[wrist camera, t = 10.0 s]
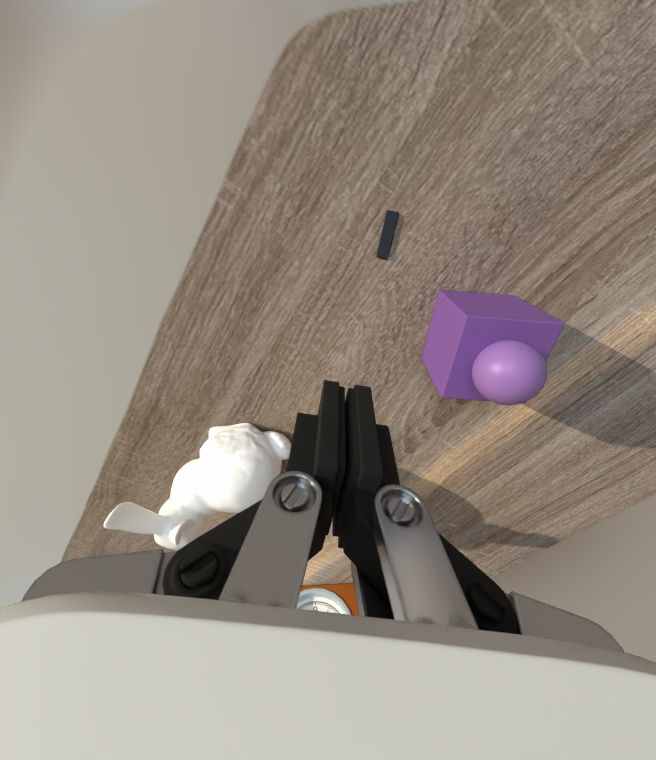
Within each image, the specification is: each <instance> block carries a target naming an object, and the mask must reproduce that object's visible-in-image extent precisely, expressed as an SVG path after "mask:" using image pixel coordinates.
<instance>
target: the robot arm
mask: <svg viewBox="0 0 656 760" xmlns="http://www.w3.org/2000/svg"><path fill="white" fill-rule="evenodd" d="M332 518H333V536H338V548H344V553H345V554H346V555H347V557H348V558H349V559H350V560H351V561H352V562H351V571H352V577H353V584H354V590H355V596H356V602H357V608H358V614H359V616H357V615H348V614H339V613H330V612H322V611H313V610H304V609H297V604H298V600H299V596H300V592H301V588H302V583H303V579H304V575H305V571H306V567H307V562H308V561H309V560H310V559H311V558H312V557H313V556H315V555H316V554H317V553H318V552H319V551H321V550H322V547H323V543H324V540H325V536H326V535H328V533H329V529H330V526H331V522H332ZM0 760H656V663H655V662H652V661H649V660H647V659H644V658H642V657H639V656H635V655H632V654H628V653H625V652H624V650H623V649H622V647H621V646H620V645H619V644H618V642H617V641H616V640H615V639H614V638H613V637H612V635H611V634H609V633H608V632H607V631H606V630H605V629H603V628H602V627H601V626H600V625H598V624H596V623H594V622H593V621H591V620H589V619H586V618H583V617H581V616H578V615H575V614H573V613H570V612H567V611H564V610H562V609H559V608H556V607H554V606H551V605H548V604H545V603H542V602H540V601H537V600H534V599H532V598H529V597H526V596H523V595H521V594H518V593H515V592H513V591H512V592H511V593H510V594H506V593H504V591H503V590H502V589H501V588H500V587H499V586H498V585H497V584H496V583H495V582H494V581H493V580H492V579H491V578H489V577H488V576H487V575H486V574H485V573H484V572H482V571H481V570H480V569H479V568H478V567H477V566H476V565H474V564H473V563H472V562H471V561H470V560H469V559H468V558H466V557H465V556H464V555H463V554H462V553H461V552H460V551H458V550H457V549H456V548H455V547H454V546H453V545H452V544H450V543H449V542H448V541H447V540H446V539H445V538H443V537H442V536H441V535H440V534H439V533H438V532H437V530H436V527H435V525H434V523H433V520H432V518H431V515H430V513H429V511H428V508H427V506H426V505H425V503H424V501H423V500H422V499H421V497H420V496H419V495H418V494H417V493H415V492H414V491H412V490H411V489H409V488H407V487H404V486H402V485H400V482H399V477H398V472H397V467H396V462H395V457H394V452H393V447H392V442H391V437H390V432H389V428H388V426H385V425H378V424H376V421H375V414H374V407H373V400H372V393H371V388H370V387H366V386H360V385H355V386H354V389H353V388H349V389H348V392H347V396H346V401H345V388H344V387H340V386H339V382H333V381H327V380H324V383H323V389H322V394H321V400H320V406H319V411H318V416H317V415H310V414H303V413H298V414H297V419H296V424H295V429H294V434H293V439H292V445H291V450H290V455H289V460H288V465H287V470H286V472H284V473H282V474H279V475H278V476H276V477H275V478H274V479H273V480H272V481H271V483H270V484H269V486H268V488H267V490H266V492H265V495H264V497H263V499H262V500H260V501H258V502H257V503H255V504H253V505H252V506H250V507H248V508H247V509H245V510H243V511H241V512H240V513H238V514H236V515H235V516H233V517H231V518H230V519H228V520H226V521H225V522H223V523H221V524H220V525H218V526H216V527H215V528H213V529H211V530H210V531H208V532H206V533H205V534H203V535H201V536H200V537H198V538H196V539H195V540H193V541H191V542H190V543H188V544H186V545H185V546H184V547H182V548H181V549H180V550H178V551H176V552H167V553H164V551H163V549H159V550H150V551H141V552H131V553H122V554H113V555H104V556H95V557H86V558H77V559H72V560H68V561H64V562H61V563H59V564H58V565H56V566H54V567H52V568H50V569H48V570H47V571H46V572H45V573H43V574H42V575H41V576H40V577H39V578H38V579H36V580H35V581H34V583H33V584H32V585H31V587H30V588H29V590H28V591H27V592H26V594H25V596H24V597H23V600H22V601H21V602H18V603H15V604H12V605H8V606H6V607H2V608H0Z"/></svg>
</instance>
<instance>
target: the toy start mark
mask: <svg viewBox="0 0 656 760" xmlns="http://www.w3.org/2000/svg"><path fill="white" fill-rule="evenodd" d="M398 213H399V212H393V211H388V210H387V213H386V217H385V222H384V226H383V230H382V235H381V239H380V243H379V248H378V252H377V257H381V258H386V259H387V258H388V254H389V250H390V246H391V242H392V238H393V234H394V230H395V225H396V221H397V217H398Z"/></svg>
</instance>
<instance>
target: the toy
mask: <svg viewBox="0 0 656 760" xmlns="http://www.w3.org/2000/svg"><path fill="white" fill-rule="evenodd" d="M563 326H564V323H563V322H561V321H560V320H558V319H556V318H554V317H552V316H551V315H549V314H547V313H545V312H543V311H542V310H540V309H538V308H536V307H535V306H533V305H531V304H529V303H527V302H526V301H524V300H522V299H520V298H518V297H517V296H513V295H499V294H485V293H472V292H458V291H444V290H439V291H438V295H437V299H436V303H435V307H434V311H433V315H432V319H431V323H430V327H429V331H428V335H427V339H426V343H425V347H424V351H423V355H422V361H423V363H424V365H425V367H426V369H427V371H428V373H429V374H430V376H431V378H432V380H433V382H434V384H435V386H436V388H437V390H438V392H439V394H440V396H441V397H442V398H452V399H467V400H481V401H492V402H494V403H498V404H502V405H516V404H521V403H526V401H528V400H530V399H532V398H533V397H535V396H536V395H537V394H538V393H539V392H540V391H541V389H542V388H543V386H544V384H545V382H546V378H547V366H546V360H547V358H548V356H549V354H550V352H551V350H552V348H553V346H554V344H555V342H556V340H557V338H558V336H559V334H560V332H561V330H562V328H563Z"/></svg>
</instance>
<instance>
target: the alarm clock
mask: <svg viewBox="0 0 656 760" xmlns="http://www.w3.org/2000/svg"><path fill="white" fill-rule="evenodd" d="M297 609H304V610H313V611H322V612H330V613H339V614H348V615H357V616H359V614H358V608H357V602H356V596H355V590H354V584H353V583H350V584H332V585H314V586H302V588H301V592H300V596H299V600H298V604H297Z"/></svg>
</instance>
